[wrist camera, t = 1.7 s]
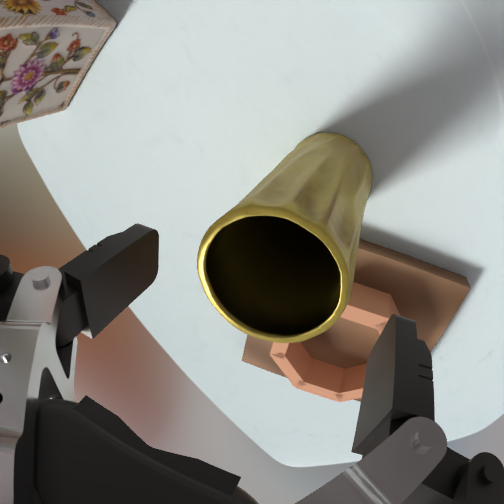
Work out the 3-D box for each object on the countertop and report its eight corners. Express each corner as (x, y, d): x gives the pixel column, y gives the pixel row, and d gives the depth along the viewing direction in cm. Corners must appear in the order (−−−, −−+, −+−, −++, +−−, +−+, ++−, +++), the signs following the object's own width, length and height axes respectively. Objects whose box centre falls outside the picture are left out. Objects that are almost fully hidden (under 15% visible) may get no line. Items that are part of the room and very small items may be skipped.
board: (278, 212, 25) (272, 219, 24) (466, 277, 21) (470, 288, 20) (246, 350, 33) (241, 360, 32) (386, 397, 30) (385, 408, 29)
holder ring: (300, 263, 24) (290, 285, 22) (424, 306, 22) (427, 331, 20) (273, 353, 30) (262, 375, 28) (373, 386, 28) (370, 410, 25)
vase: (388, 165, 20) (406, 271, 9) (341, 230, 24) (296, 376, 12) (314, 116, 21) (226, 150, 9) (273, 185, 24) (164, 290, 12)
